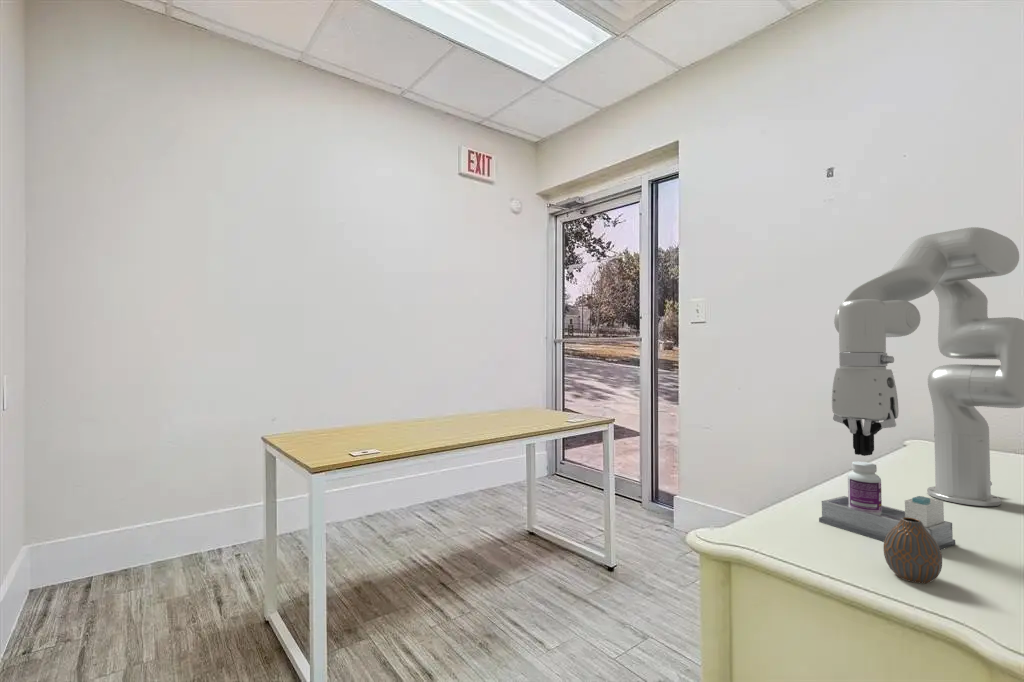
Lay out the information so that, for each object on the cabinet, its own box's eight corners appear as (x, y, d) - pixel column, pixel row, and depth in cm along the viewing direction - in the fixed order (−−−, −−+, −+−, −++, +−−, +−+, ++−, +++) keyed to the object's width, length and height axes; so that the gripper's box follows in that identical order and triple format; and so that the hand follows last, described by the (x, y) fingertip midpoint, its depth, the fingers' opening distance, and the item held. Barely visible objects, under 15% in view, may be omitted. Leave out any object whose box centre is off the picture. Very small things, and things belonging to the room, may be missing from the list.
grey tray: (847, 514, 102) (846, 474, 102) (955, 544, 86) (954, 497, 86) (819, 521, 97) (818, 480, 97) (927, 554, 81) (926, 505, 81)
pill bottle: (888, 518, 91) (887, 467, 91) (856, 516, 92) (855, 465, 92) (872, 509, 96) (871, 461, 97) (843, 507, 97) (842, 459, 98)
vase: (872, 568, 76) (871, 512, 76) (912, 566, 77) (911, 511, 77) (912, 589, 69) (911, 528, 69) (956, 587, 70) (954, 527, 70)
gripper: (917, 362, 90) (919, 460, 89) (833, 361, 103) (834, 446, 103) (896, 362, 87) (897, 464, 86) (812, 361, 100) (813, 449, 99)
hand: (863, 454), depth 94 cm, fingers closed
